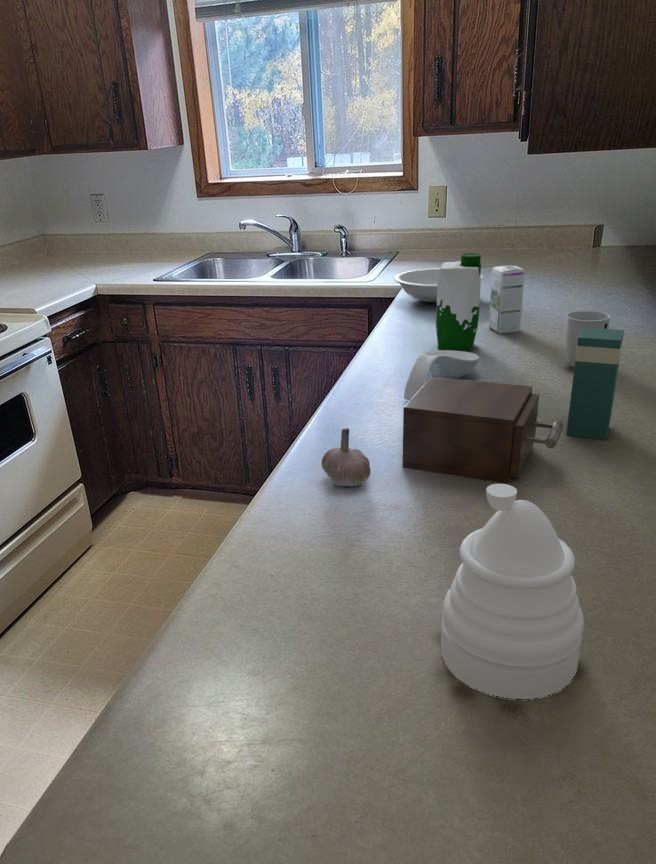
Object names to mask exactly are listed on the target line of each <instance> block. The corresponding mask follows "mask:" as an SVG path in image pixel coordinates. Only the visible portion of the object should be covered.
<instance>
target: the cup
mask: <svg viewBox="0 0 656 864" xmlns="http://www.w3.org/2000/svg"><path fill="white" fill-rule="evenodd" d="M565 318H566V319H565V348H566V349H565V350H566V356H567V361H568V365H569V366H570V367H572V368H574V367H575V356H576V348H577V343H578V337H579V335H580V333H581V331H582V328H583V327H584V328H599V329H609V326H610V322H611V315H610V314H608V313H606V312H602V311H596V310H595V311H594V310H575V311H571V312H568V313H567V314H566V317H565Z"/></svg>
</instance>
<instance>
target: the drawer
mask: <svg viewBox="0 0 656 864" xmlns="http://www.w3.org/2000/svg"><path fill="white" fill-rule="evenodd" d="M539 403H540V393H534V392H532V393H531V395H530V397H529V399H528V401H527V402H526V404H525V406H524V408H523V410H522V412H521V413H520V414H519V416H518V418H517V419H516V421H515V423H514V433H513V444H512V455H511V466H510V476H511V477H513V478H514V477H515V478H519V476H520V474H521V472H522V470H523V467H524V465H525V464H526V461H527V459H528V457H529V455H530V452H531V450H532V448H533V446H534V444H542V445H545V446H546V447H547V448H548V449H554V448H556V447H557V445H558V442H559V439H560V437H561V435H562V431H563V429H564V423H563V422H562V421H560V420H556V421H554V422H553V423H551V422H544V421H543V422H542V421H538V414H539ZM537 428H542V429H543V428H544V429H550V430H549V433H548V434H547V436H546V438H542V437H536V432H537Z"/></svg>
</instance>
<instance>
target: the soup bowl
mask: <svg viewBox="0 0 656 864" xmlns="http://www.w3.org/2000/svg"><path fill="white" fill-rule="evenodd" d="M440 268H441V267H438V268H437V267H434V268H431V267H430V268H421V269H419V268H418V269H413V270H412V269H411V270H408V271H402V272H400V273H398V274H396V275H395V276H394V278H393V279H394V281H395V282H396V283H398V284H400V286H401V288H402V290H403V291H404V292H405V293H406V294H407V295H408V296H410V297H411V298H413V299H415V300H418V301H422V302H427V303H428V302H429V303H437V289H438V280H439V273H440ZM483 279H484V275H483V273H481V281H483Z"/></svg>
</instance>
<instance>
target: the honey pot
mask: <svg viewBox="0 0 656 864" xmlns="http://www.w3.org/2000/svg"><path fill="white" fill-rule="evenodd" d="M485 493H486V495H485V496H486V499H487V502H488V504H489V506H490V507H491V508H492V509H494V510H495V511H496V512H495V513H494V514H493V515H492V516H491V517H490V519H489V520H488V521H487V522H486V523H485V525H484V526H483V527H482V528H479V529H476V530H474V531H473V532H471V533H469V534H468V535H467V536H466V537H465V538H464V539H463V540H462V542H461V545H460V547H459V557H460V560H461V562H462V563H461V564H460V565H459V566H458V568H457V570H456V573H455V577H454V578H453V581H452V584H451V587H450V588H448V590H447V593H446V595H445V598H444V599H443V604H442V614H441V615H442V618H441V629H440V631H441V632H440V633H441V634H440V652H441V653H440V654H441V658H442V657H443V658H442V660H443V662H444V664H445V666H446V668H447V669H448V670H449V672H450V673H451V674H452V675H453V676H454V677H455V678H456V679H457V680H458V681H460V682H461V683H463V684H464V685H466V686H467V687H468V688H469V689H472V690H475V691H477V692H480V693H482V694H484V695H486V696H489V697H495V698H499V699H503V700H507V701H517V700H516V699H519V698H522V699H530V698H538V697H542V696H543V697H544V696H547V697H545V698H544V699H546V698H549V697H551V696H553V695H556V694H559V693H561V692H562V691H563V690H564V689H566V688H567V687H568V686H571V684H572V682H573V680H574V679H575V677H576V675H577V673H576V672H578V666H579V660H580V654H581V647H582V640H583V633H584V625H585V620H584V619H585V618H584V614H583V611H582V608H581V605H580V600H579V597H578V594H577V591H578V588H577V584H576V581H575V579H574V577H573V576H572V572H574V570H575V564H576V559H575V556H574V552H573V550H572V548H570V546H568V544H567V543H566V542H565V541H563V540H562V539H560V538H559V536H558V533H557V532H556V530H555V528H554V526H553V524H552V523H551V521H550V519H549V518H548V517H547V515H546V514H545V513H544V512H543V510H541V508H540V507H539V506H537V505H536V504H534V503H533V502H531V501H529V500H526V499H525V500H523V499H519V500H516V498H517V495H518V489H517V488H515V486H512V485H510V484H508V483H492V484H490V485H488V486H487V487H486V491H485ZM575 674H576V675H575ZM574 676H575V677H574ZM573 677H574V678H573ZM572 679H573V680H572ZM571 681H572V682H571ZM570 682H571V683H570ZM569 683H570V684H569ZM568 684H569V685H568ZM468 685H469V686H468ZM567 685H568V686H567ZM565 686H567V687H565ZM564 687H565V688H564ZM563 688H564V689H563ZM476 689H477V690H476ZM561 689H563V690H561ZM560 690H561V691H560ZM558 691H560V692H558ZM483 692H484V693H483ZM555 692H558V693H555ZM486 693H487V694H486ZM553 693H555V694H553ZM488 694H489V695H488ZM550 694H553V695H550ZM492 695H494V696H492ZM548 695H550V696H548ZM496 696H500V697H496ZM501 697H504V698H501ZM505 698H516V699H505ZM540 699H543V698H538V699H537V700H540ZM533 700H535V699H530V700H529V701H533ZM523 701H528V700H523Z"/></svg>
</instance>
